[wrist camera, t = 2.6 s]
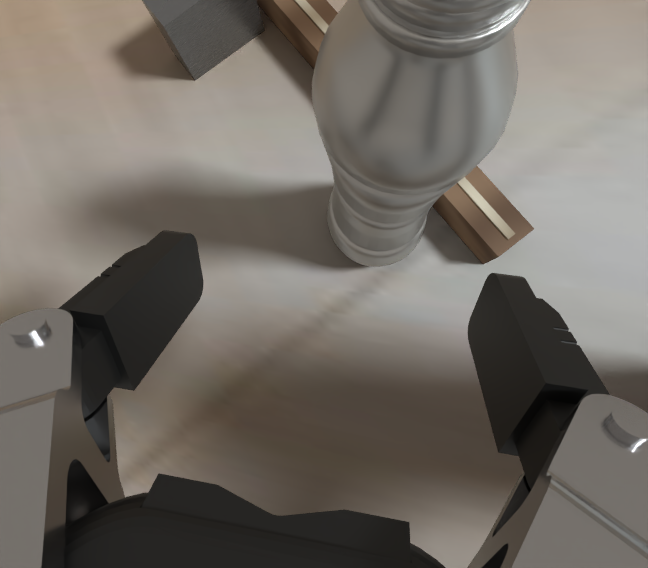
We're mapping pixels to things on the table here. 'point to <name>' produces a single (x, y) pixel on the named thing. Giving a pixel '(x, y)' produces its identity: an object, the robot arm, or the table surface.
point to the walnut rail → (460, 200)
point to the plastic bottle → (409, 111)
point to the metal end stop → (205, 29)
